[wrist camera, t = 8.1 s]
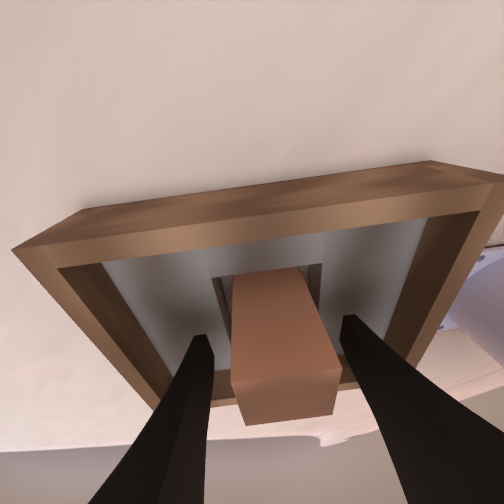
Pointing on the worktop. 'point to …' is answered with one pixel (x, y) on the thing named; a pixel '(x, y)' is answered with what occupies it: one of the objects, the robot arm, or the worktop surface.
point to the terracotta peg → (280, 349)
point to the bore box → (268, 262)
